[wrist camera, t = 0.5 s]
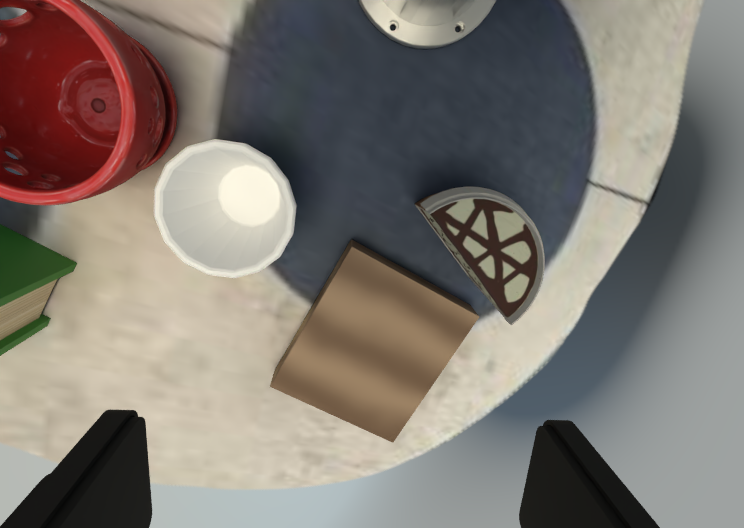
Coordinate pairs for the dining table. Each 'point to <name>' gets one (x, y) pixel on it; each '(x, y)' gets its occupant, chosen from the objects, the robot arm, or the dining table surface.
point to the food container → (490, 244)
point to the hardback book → (25, 285)
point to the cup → (224, 208)
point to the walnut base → (373, 343)
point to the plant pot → (76, 104)
